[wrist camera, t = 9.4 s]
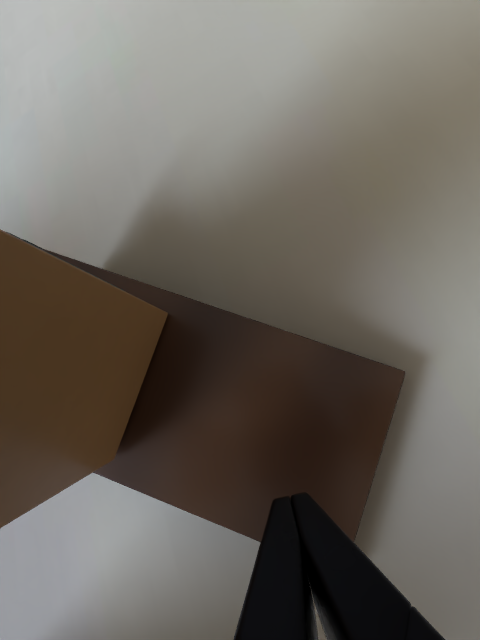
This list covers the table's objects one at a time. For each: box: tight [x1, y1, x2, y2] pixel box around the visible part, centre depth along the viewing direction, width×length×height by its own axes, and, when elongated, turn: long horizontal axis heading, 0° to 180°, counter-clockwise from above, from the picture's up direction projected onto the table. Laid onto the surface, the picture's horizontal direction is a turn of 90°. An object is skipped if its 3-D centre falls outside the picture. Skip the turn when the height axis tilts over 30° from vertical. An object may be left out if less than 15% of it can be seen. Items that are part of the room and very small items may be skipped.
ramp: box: [22, 239, 405, 542], centre depth 17 cm, size 19×9×6 cm, turn 69°
